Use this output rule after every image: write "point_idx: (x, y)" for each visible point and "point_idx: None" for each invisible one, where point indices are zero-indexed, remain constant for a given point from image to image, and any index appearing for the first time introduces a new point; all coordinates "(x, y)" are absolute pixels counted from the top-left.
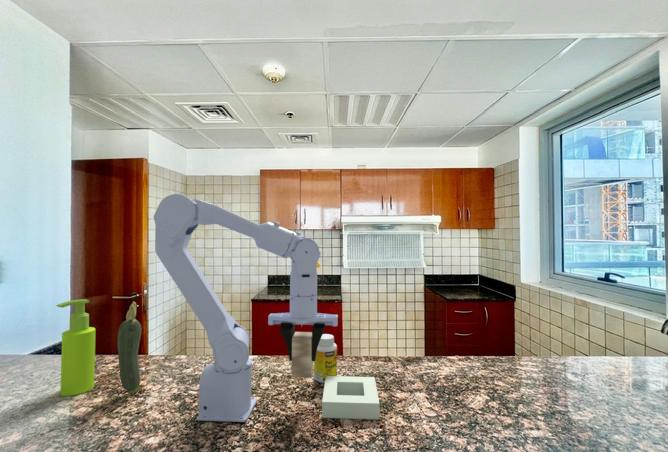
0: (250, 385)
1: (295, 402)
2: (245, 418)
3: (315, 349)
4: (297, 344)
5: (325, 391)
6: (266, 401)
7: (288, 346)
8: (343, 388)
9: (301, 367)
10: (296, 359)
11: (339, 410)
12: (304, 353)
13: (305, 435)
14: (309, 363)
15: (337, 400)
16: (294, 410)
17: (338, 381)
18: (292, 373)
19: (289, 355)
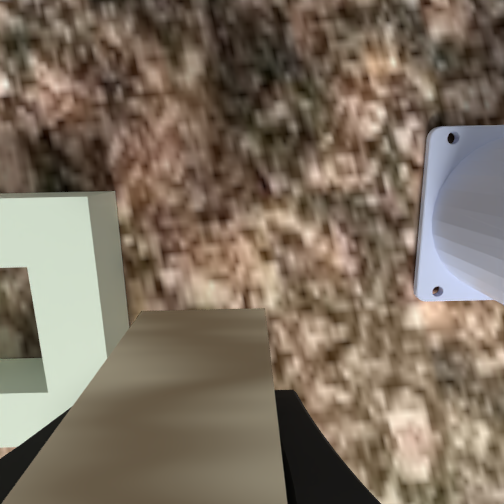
0: (497, 235)
1: (248, 295)
2: (435, 137)
3: (9, 457)
4: (208, 485)
5: (89, 295)
6: (372, 293)
7: (329, 469)
8: (35, 375)
9: (193, 339)
10: (229, 370)
11: (22, 195)
12: (141, 406)
13: (159, 62)
14: (123, 357)
15: (11, 215)
16: (240, 236)
17: (43, 395)
18: (260, 317)
19: (301, 410)
